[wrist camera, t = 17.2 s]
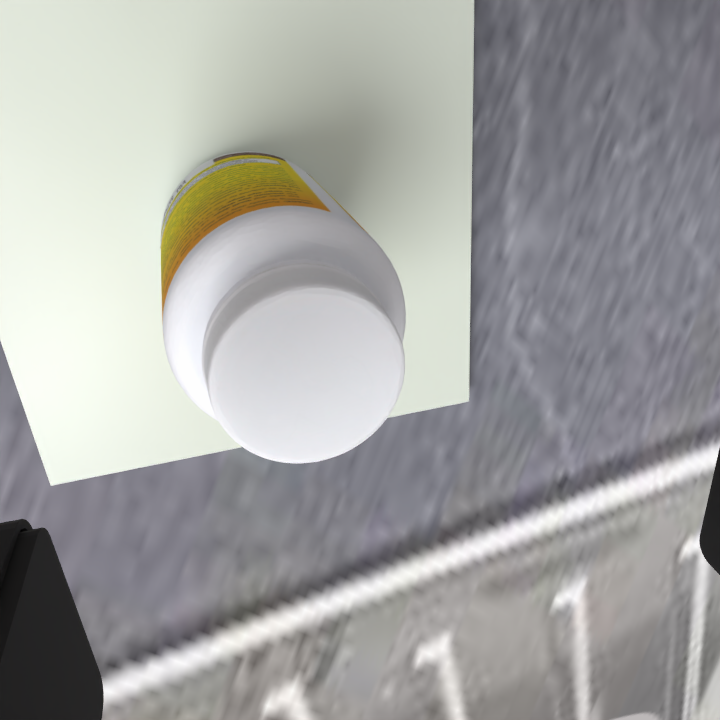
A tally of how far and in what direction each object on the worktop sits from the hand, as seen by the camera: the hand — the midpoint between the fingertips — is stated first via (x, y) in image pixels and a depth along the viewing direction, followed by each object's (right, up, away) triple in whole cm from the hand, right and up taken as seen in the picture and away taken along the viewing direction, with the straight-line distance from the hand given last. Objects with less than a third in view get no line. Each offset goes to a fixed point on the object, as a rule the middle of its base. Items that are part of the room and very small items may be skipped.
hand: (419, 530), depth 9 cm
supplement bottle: (-4, +6, +13) cm, 15 cm away
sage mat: (-5, +7, +13) cm, 16 cm away
